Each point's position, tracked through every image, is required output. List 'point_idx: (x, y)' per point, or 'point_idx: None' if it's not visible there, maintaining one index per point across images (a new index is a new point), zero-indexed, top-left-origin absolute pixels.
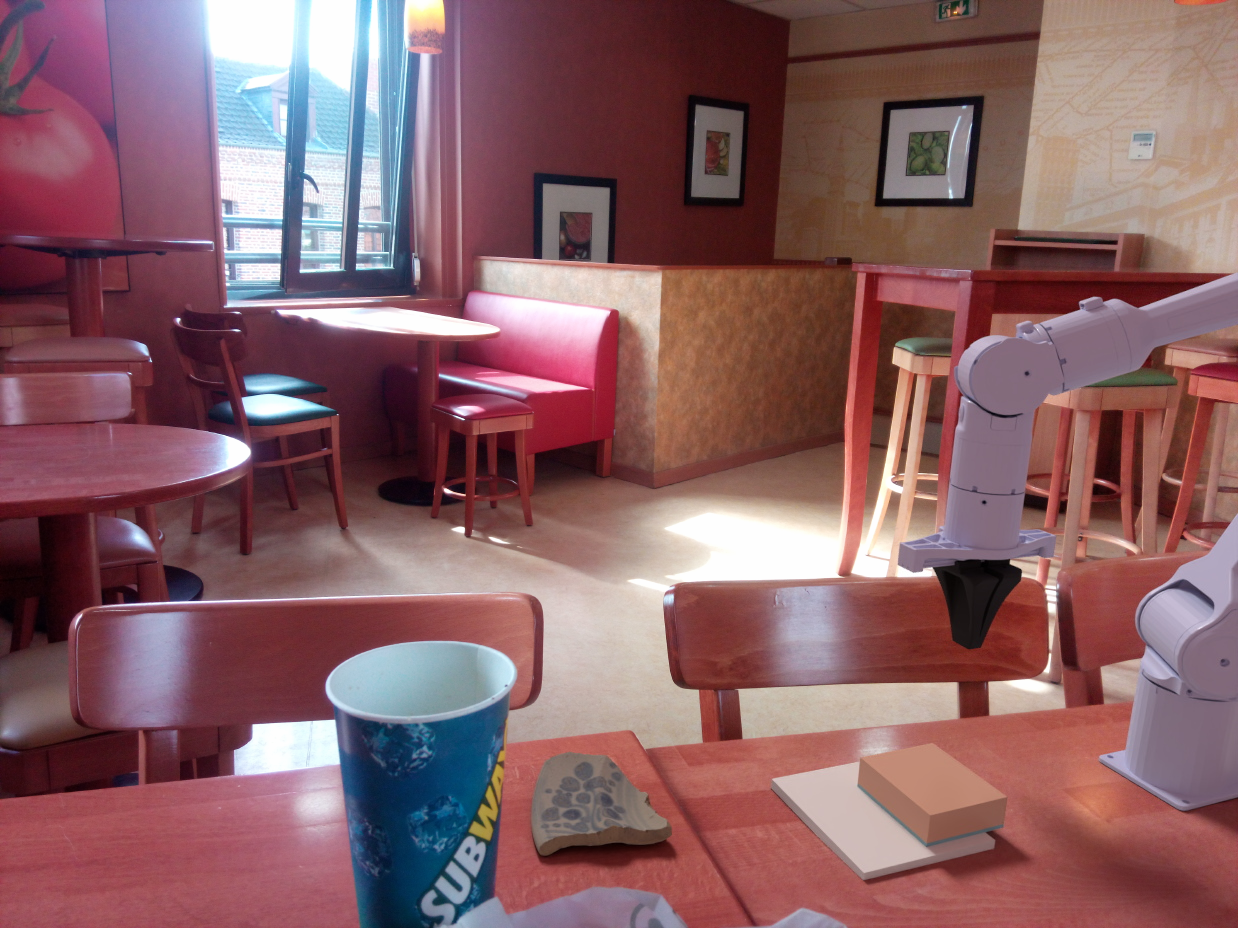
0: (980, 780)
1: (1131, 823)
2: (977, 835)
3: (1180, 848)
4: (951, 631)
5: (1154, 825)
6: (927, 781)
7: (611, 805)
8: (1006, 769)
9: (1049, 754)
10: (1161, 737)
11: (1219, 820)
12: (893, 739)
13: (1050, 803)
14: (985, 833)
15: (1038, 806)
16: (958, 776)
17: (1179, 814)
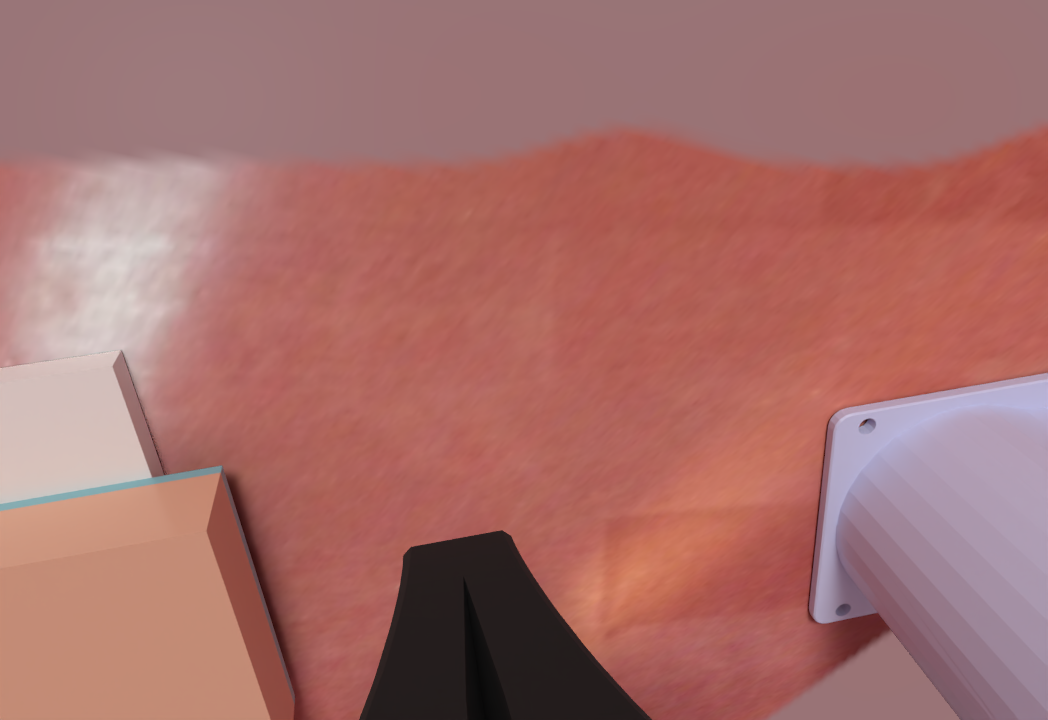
0: (254, 714)
1: (655, 644)
2: None
3: (678, 712)
4: (401, 581)
5: (699, 651)
6: (69, 715)
7: None
8: (525, 421)
9: (723, 365)
10: (920, 655)
11: (853, 644)
12: (224, 190)
13: None
14: None
15: None
16: (192, 698)
17: (793, 623)
